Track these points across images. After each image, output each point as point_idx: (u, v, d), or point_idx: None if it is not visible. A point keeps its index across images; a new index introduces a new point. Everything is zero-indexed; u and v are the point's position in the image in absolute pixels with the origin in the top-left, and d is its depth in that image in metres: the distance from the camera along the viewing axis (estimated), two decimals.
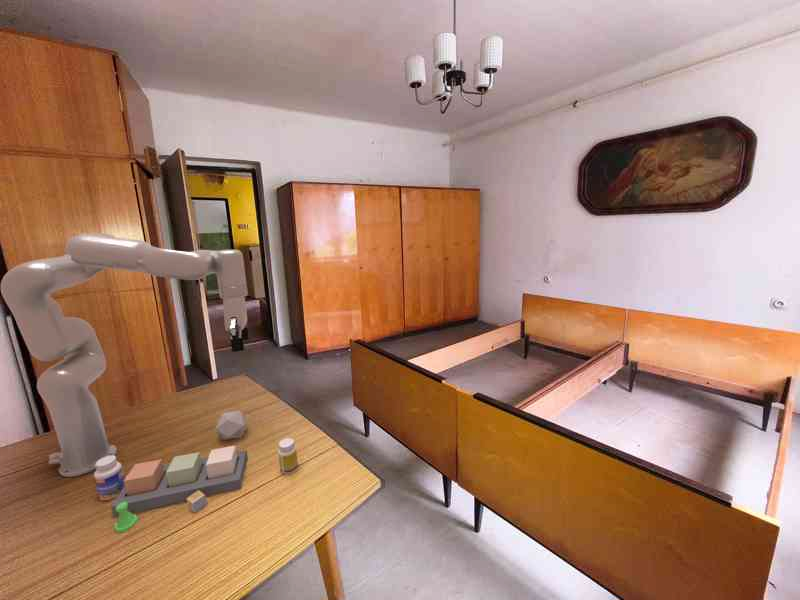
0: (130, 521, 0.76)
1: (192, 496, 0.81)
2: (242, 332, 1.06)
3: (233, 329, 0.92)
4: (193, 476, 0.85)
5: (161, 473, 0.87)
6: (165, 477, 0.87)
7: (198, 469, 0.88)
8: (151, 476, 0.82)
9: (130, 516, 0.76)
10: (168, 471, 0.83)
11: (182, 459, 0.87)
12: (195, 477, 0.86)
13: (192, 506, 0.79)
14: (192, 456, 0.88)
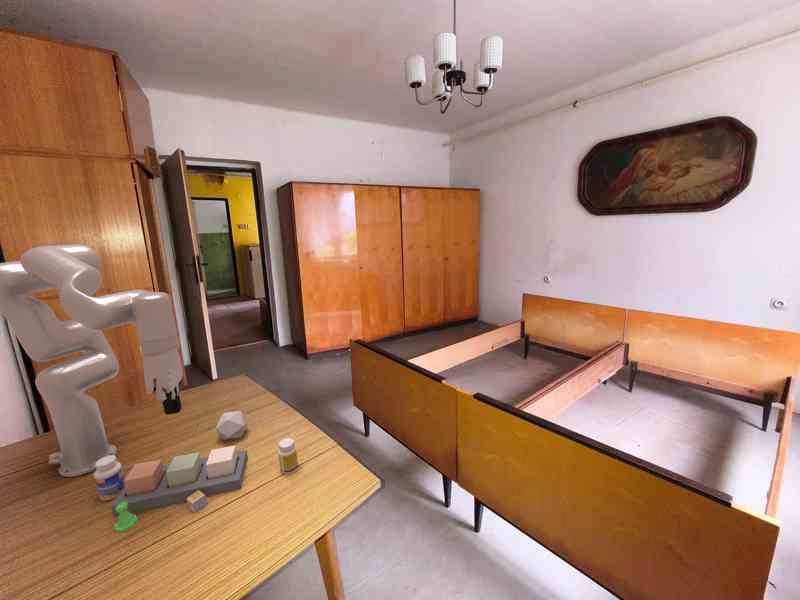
0: (130, 521, 0.76)
1: (192, 496, 0.81)
2: None
3: (162, 400, 0.77)
4: (193, 476, 0.85)
5: (161, 473, 0.87)
6: (165, 477, 0.87)
7: (198, 469, 0.88)
8: (151, 476, 0.82)
9: (130, 516, 0.76)
10: (168, 471, 0.83)
11: (182, 459, 0.87)
12: (195, 477, 0.86)
13: (192, 506, 0.79)
14: (192, 456, 0.88)
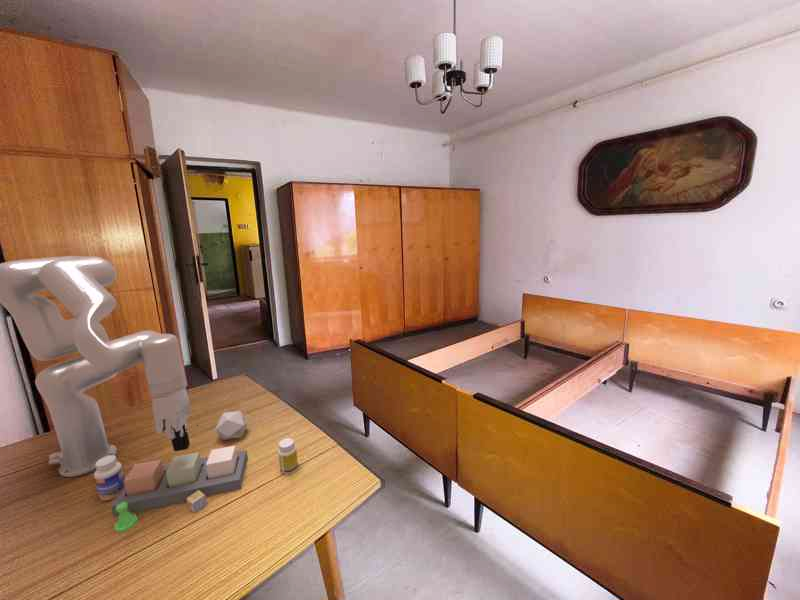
0: (130, 521, 0.76)
1: (192, 496, 0.81)
2: None
3: (171, 439, 0.79)
4: (193, 476, 0.85)
5: (161, 473, 0.87)
6: (165, 477, 0.87)
7: (198, 469, 0.88)
8: (151, 476, 0.82)
9: (130, 516, 0.76)
10: (168, 471, 0.83)
11: (182, 459, 0.87)
12: (195, 477, 0.86)
13: (192, 506, 0.79)
14: (192, 456, 0.88)
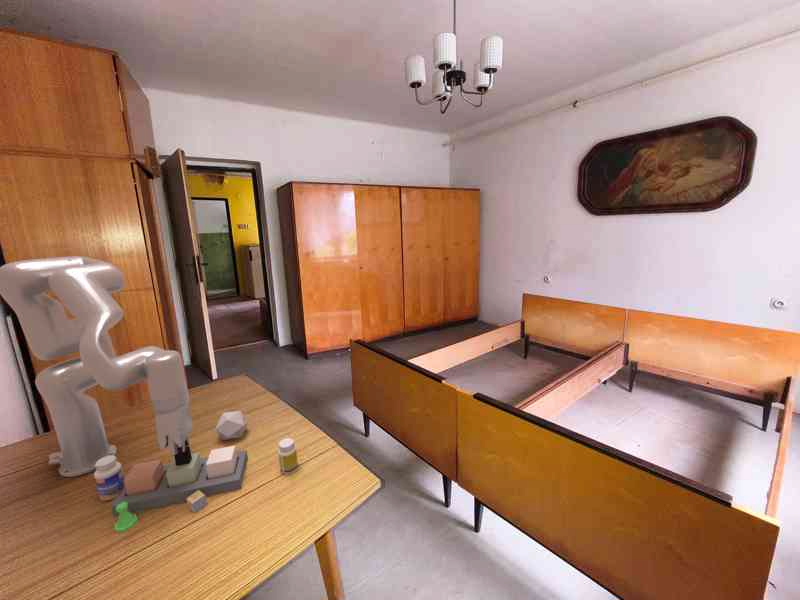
0: (130, 521, 0.76)
1: (192, 496, 0.81)
2: None
3: (174, 454, 0.80)
4: (193, 476, 0.85)
5: (161, 473, 0.87)
6: (165, 477, 0.87)
7: (198, 469, 0.88)
8: (151, 476, 0.82)
9: (130, 516, 0.76)
10: (168, 471, 0.83)
11: None
12: (195, 477, 0.86)
13: (192, 506, 0.79)
14: (192, 456, 0.88)
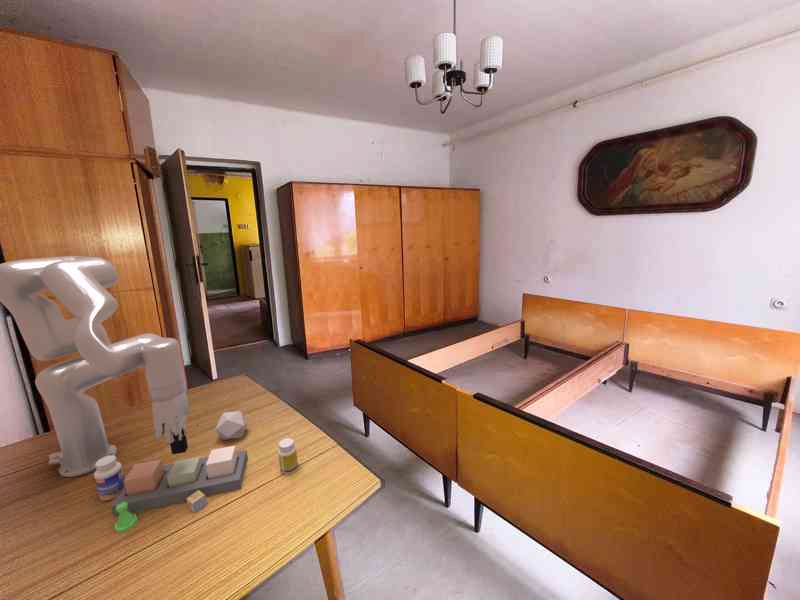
0: (130, 521, 0.76)
1: (192, 496, 0.81)
2: None
3: (170, 442, 0.80)
4: (194, 481, 0.85)
5: (161, 473, 0.87)
6: (165, 477, 0.87)
7: (199, 473, 0.89)
8: (151, 476, 0.82)
9: (130, 516, 0.76)
10: (169, 475, 0.84)
11: (183, 463, 0.88)
12: (196, 481, 0.86)
13: (192, 506, 0.79)
14: (193, 460, 0.89)
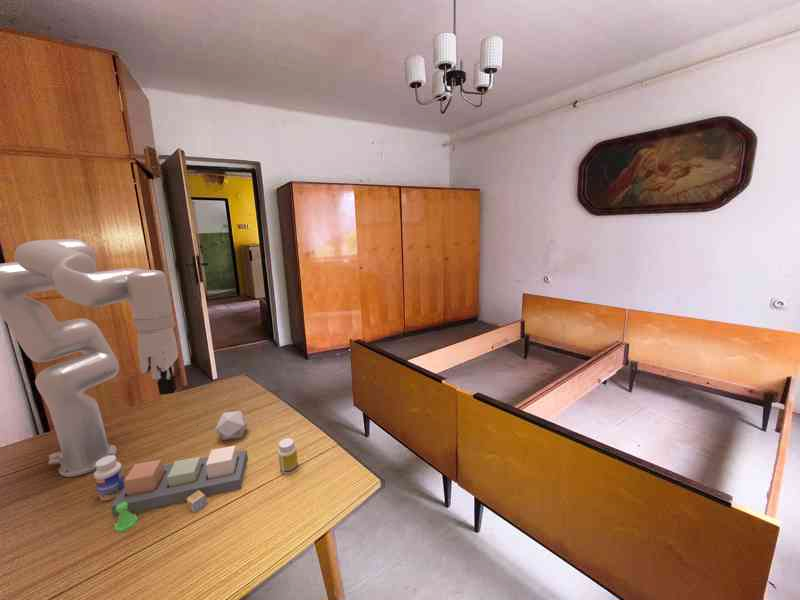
0: (130, 521, 0.76)
1: (192, 496, 0.81)
2: None
3: (157, 379, 0.76)
4: (194, 481, 0.85)
5: (161, 473, 0.87)
6: (165, 477, 0.87)
7: (199, 473, 0.89)
8: (151, 476, 0.82)
9: (130, 516, 0.76)
10: (169, 475, 0.84)
11: (183, 463, 0.88)
12: (196, 481, 0.86)
13: (192, 506, 0.79)
14: (193, 460, 0.89)
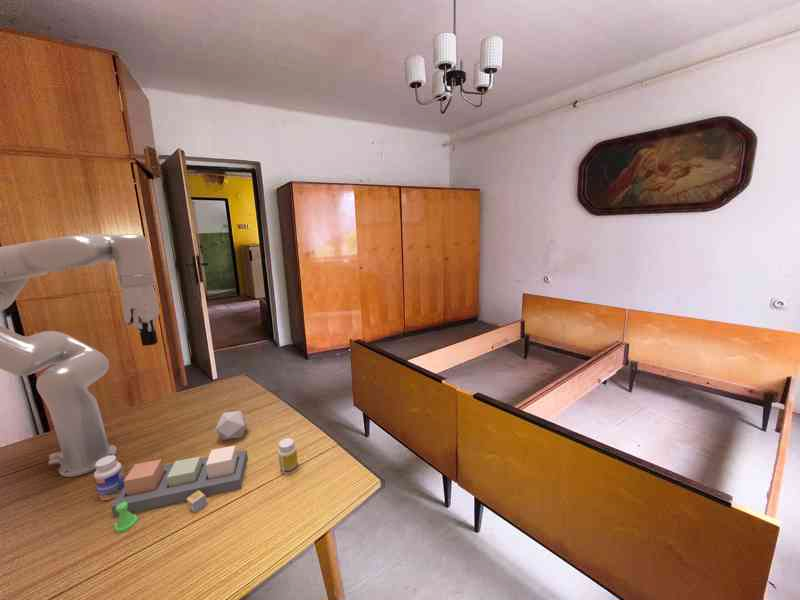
0: (130, 521, 0.76)
1: (192, 496, 0.81)
2: None
3: (139, 328, 0.87)
4: (194, 481, 0.85)
5: (161, 473, 0.87)
6: (165, 477, 0.87)
7: (199, 473, 0.89)
8: (151, 476, 0.82)
9: (130, 516, 0.76)
10: (169, 475, 0.84)
11: (183, 463, 0.88)
12: (196, 481, 0.86)
13: (192, 506, 0.79)
14: (193, 460, 0.89)
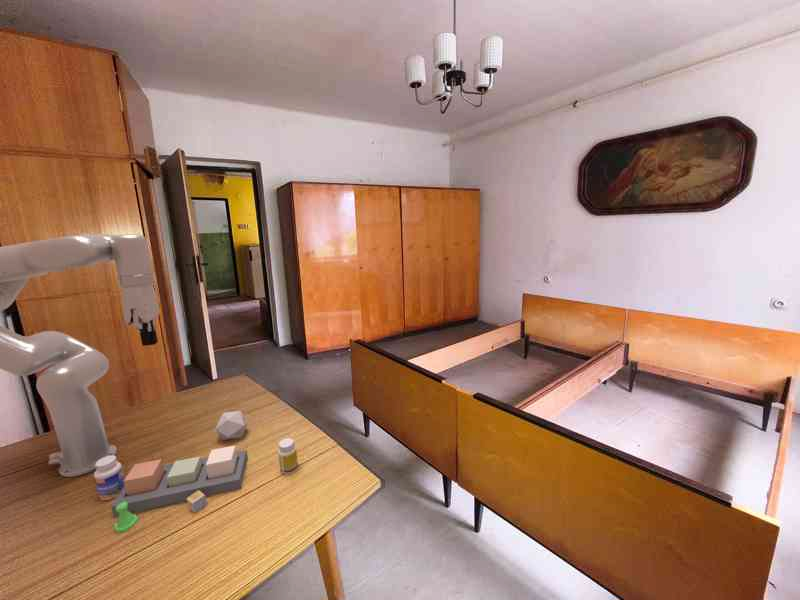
0: (130, 521, 0.76)
1: (192, 496, 0.81)
2: None
3: (139, 328, 0.87)
4: (194, 481, 0.85)
5: (161, 473, 0.87)
6: (165, 477, 0.87)
7: (199, 473, 0.89)
8: (151, 476, 0.82)
9: (130, 516, 0.76)
10: (169, 475, 0.84)
11: (183, 463, 0.88)
12: (196, 481, 0.86)
13: (192, 506, 0.79)
14: (193, 460, 0.89)
